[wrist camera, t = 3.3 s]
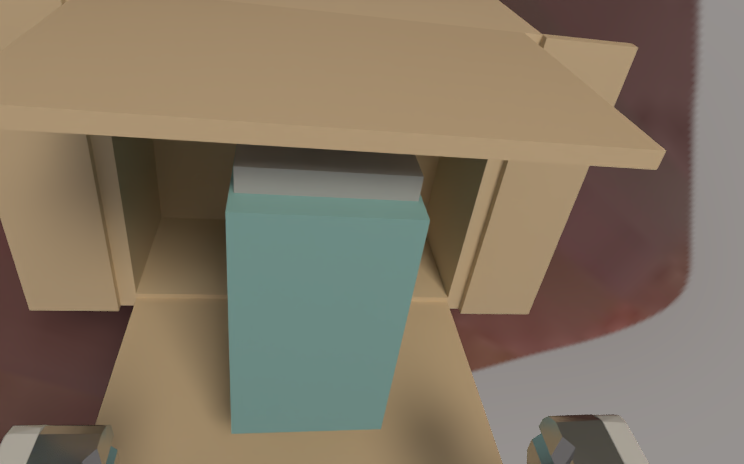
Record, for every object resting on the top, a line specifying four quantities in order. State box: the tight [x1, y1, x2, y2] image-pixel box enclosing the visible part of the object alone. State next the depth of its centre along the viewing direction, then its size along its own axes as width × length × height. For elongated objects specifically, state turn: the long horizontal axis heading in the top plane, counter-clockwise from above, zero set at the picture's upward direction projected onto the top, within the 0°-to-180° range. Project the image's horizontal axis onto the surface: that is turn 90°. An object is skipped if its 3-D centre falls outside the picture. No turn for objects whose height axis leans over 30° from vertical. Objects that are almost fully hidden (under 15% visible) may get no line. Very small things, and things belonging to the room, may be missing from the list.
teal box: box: [225, 144, 430, 434], centre depth 17 cm, size 8×4×12 cm, turn 172°
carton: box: [0, 0, 666, 464], centre depth 17 cm, size 11×19×13 cm, turn 82°
